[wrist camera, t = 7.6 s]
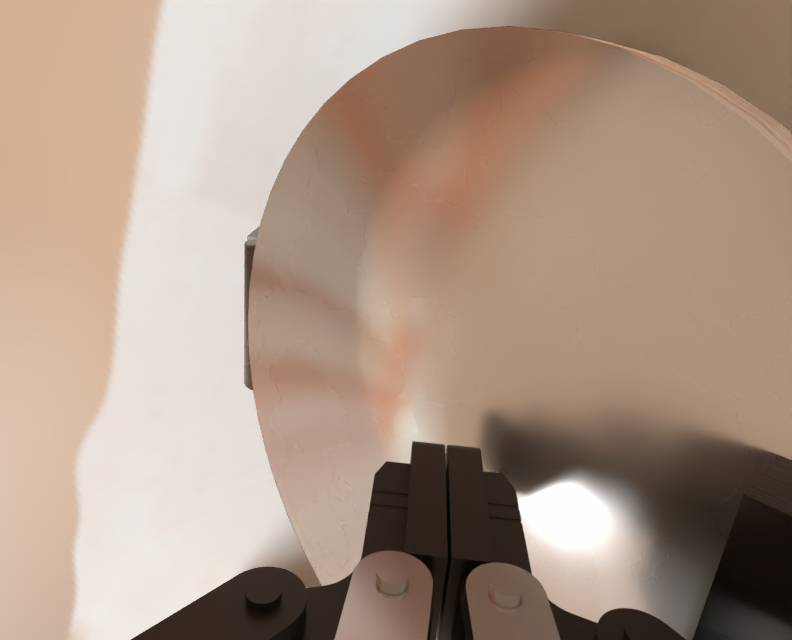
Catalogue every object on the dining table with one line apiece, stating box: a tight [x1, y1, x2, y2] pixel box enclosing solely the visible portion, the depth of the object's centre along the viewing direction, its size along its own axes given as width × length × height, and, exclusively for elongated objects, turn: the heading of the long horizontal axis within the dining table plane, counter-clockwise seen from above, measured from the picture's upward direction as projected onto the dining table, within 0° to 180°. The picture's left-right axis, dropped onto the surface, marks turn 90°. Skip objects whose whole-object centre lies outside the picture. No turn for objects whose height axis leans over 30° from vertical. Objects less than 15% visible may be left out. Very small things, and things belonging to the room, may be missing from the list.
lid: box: [244, 26, 792, 640], centre depth 15 cm, size 19×18×3 cm
